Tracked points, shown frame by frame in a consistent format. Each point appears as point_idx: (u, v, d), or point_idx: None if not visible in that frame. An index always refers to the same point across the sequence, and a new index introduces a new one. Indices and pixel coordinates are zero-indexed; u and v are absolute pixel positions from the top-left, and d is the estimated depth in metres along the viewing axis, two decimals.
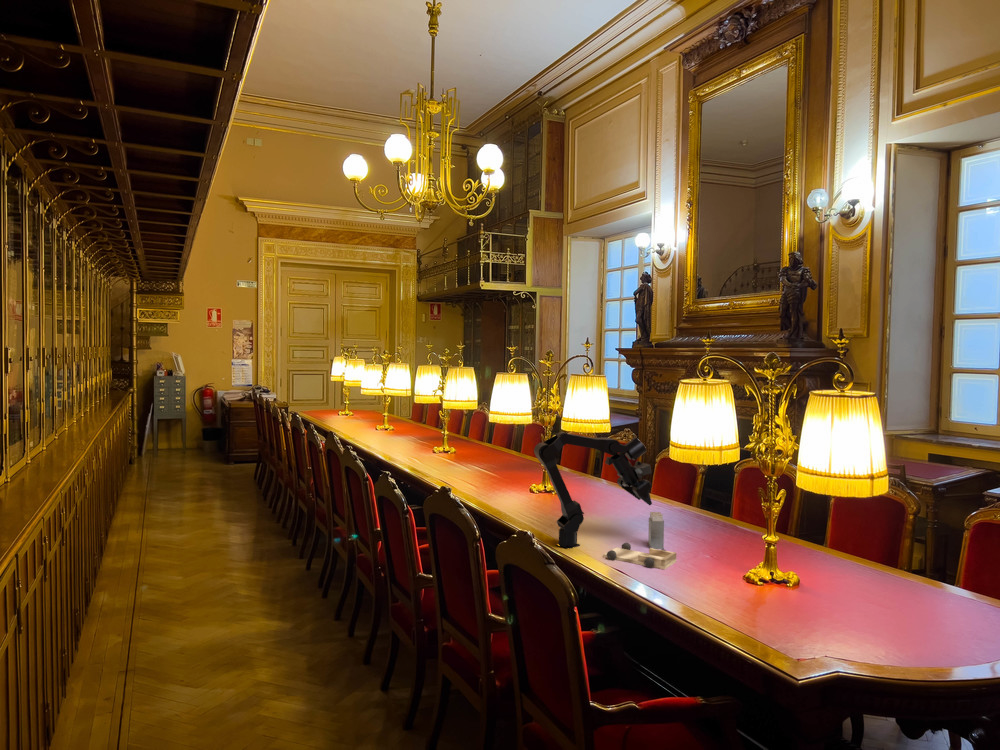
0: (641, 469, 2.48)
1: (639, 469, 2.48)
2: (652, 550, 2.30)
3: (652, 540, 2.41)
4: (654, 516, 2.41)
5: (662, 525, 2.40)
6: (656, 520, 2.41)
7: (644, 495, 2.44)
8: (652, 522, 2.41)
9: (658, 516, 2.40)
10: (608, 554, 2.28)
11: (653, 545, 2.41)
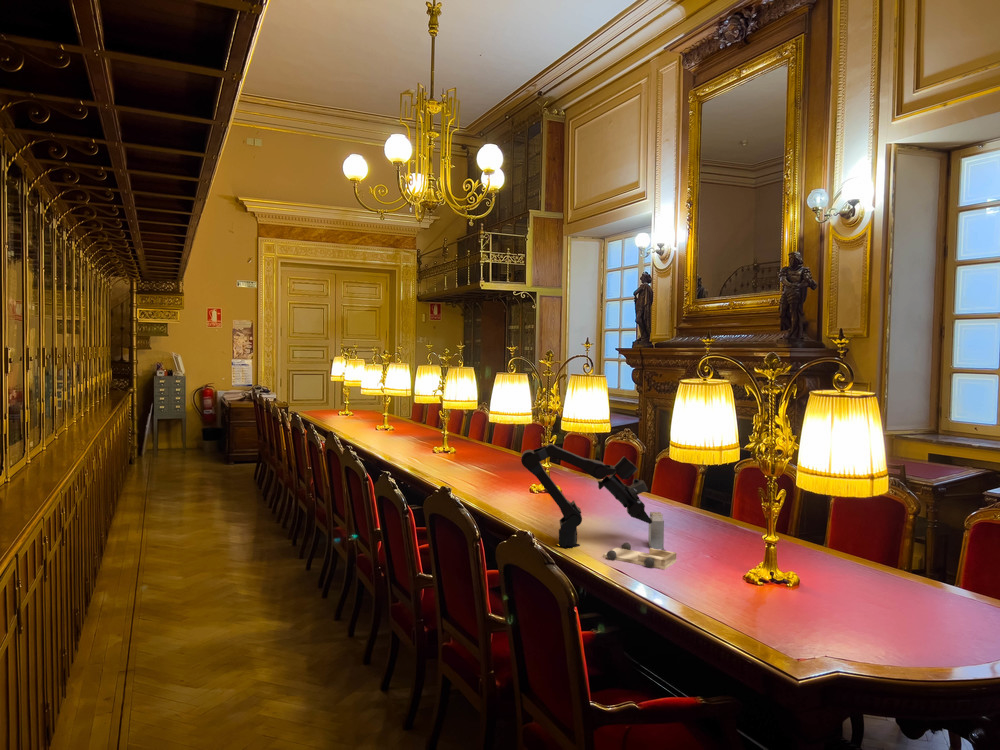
0: (635, 488, 2.41)
1: (633, 488, 2.41)
2: (652, 550, 2.30)
3: (652, 540, 2.41)
4: (654, 516, 2.40)
5: (662, 525, 2.40)
6: (656, 520, 2.41)
7: (640, 515, 2.37)
8: (652, 522, 2.41)
9: (658, 516, 2.40)
10: (608, 554, 2.28)
11: (653, 545, 2.41)
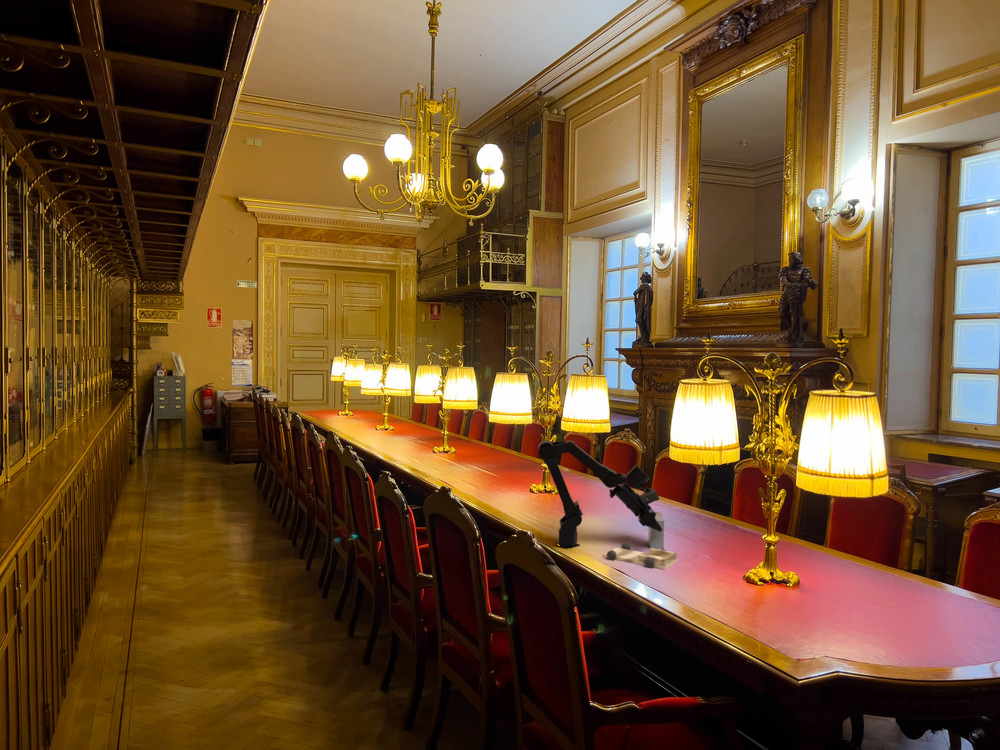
0: (646, 497, 2.41)
1: (644, 497, 2.41)
2: (652, 550, 2.30)
3: (652, 540, 2.41)
4: None
5: (662, 525, 2.40)
6: (656, 520, 2.41)
7: (651, 522, 2.39)
8: None
9: (658, 516, 2.40)
10: (608, 554, 2.28)
11: (653, 545, 2.41)
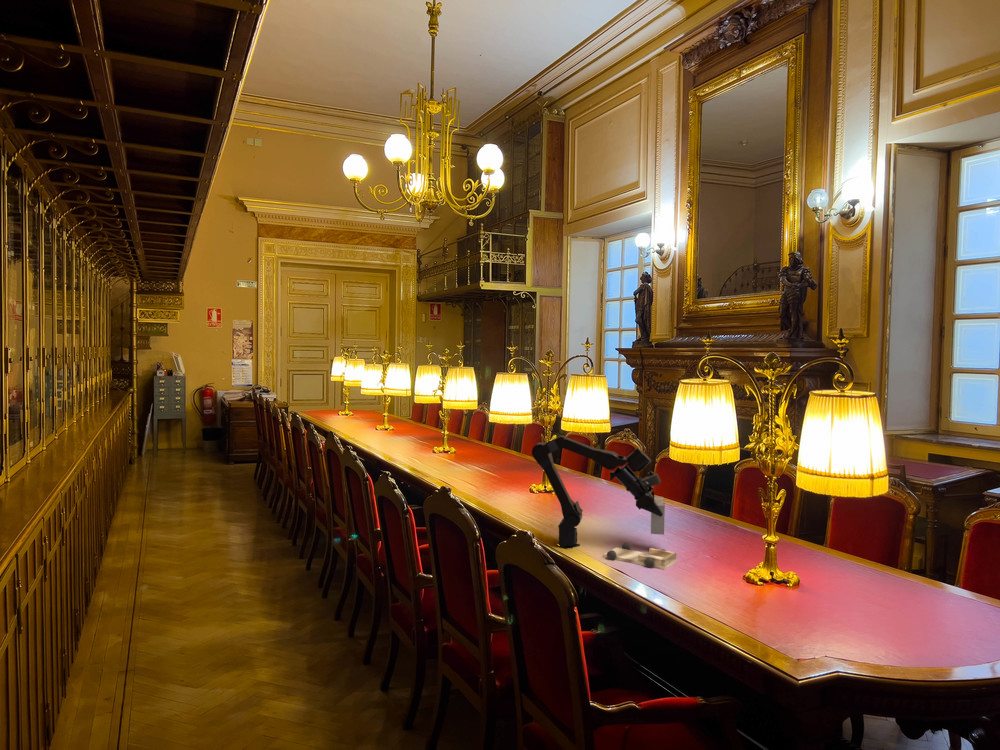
0: (646, 480, 2.35)
1: (644, 481, 2.35)
2: (652, 550, 2.30)
3: (652, 525, 2.35)
4: (654, 500, 2.35)
5: (663, 510, 2.34)
6: (656, 504, 2.35)
7: (650, 506, 2.34)
8: None
9: (658, 500, 2.34)
10: (608, 554, 2.28)
11: (653, 530, 2.35)
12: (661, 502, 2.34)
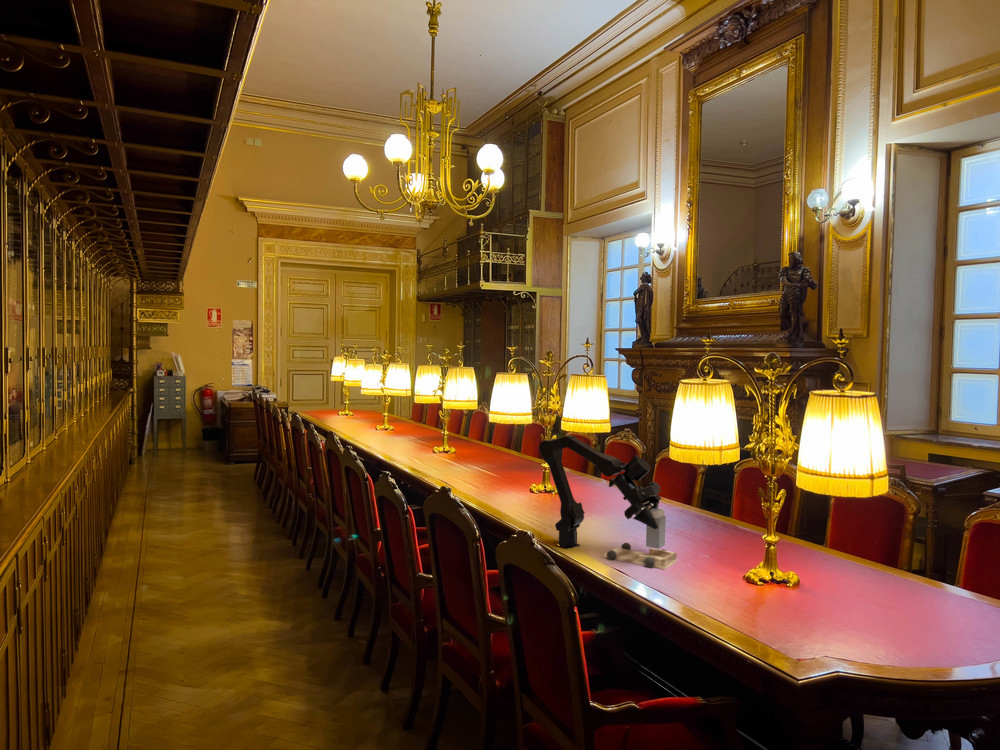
0: (642, 490, 2.25)
1: (640, 490, 2.25)
2: (652, 550, 2.30)
3: (647, 537, 2.24)
4: (650, 512, 2.23)
5: (658, 523, 2.22)
6: (652, 516, 2.23)
7: (644, 518, 2.23)
8: None
9: (654, 512, 2.23)
10: (608, 554, 2.28)
11: (649, 542, 2.24)
12: (656, 514, 2.22)
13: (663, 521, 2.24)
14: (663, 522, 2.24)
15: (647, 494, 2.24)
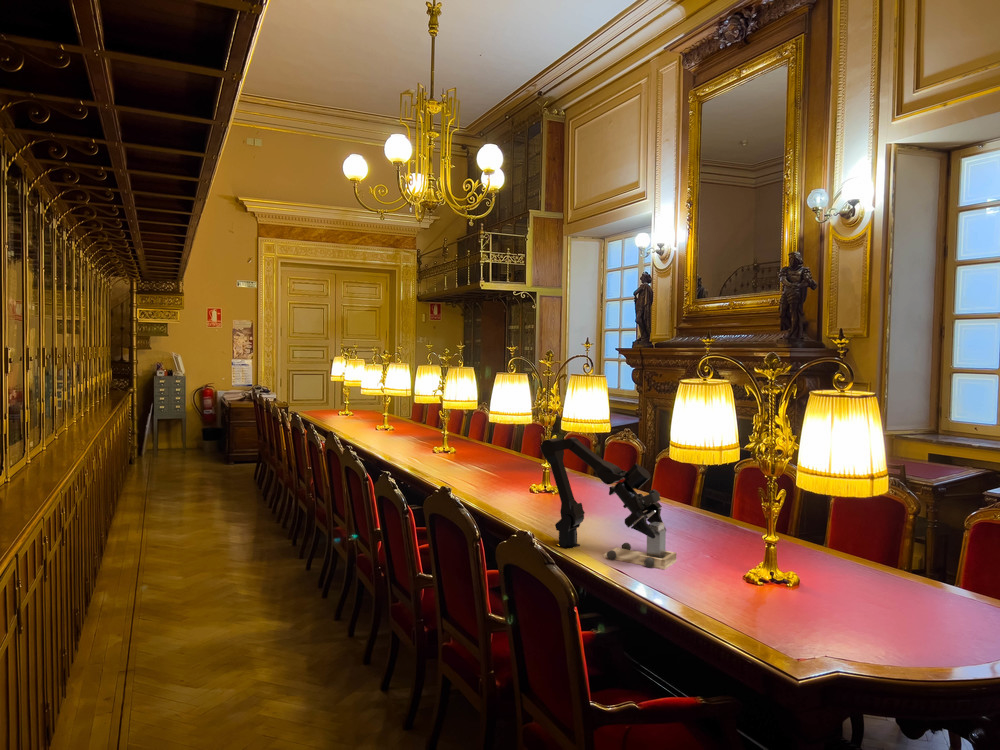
0: (642, 498, 2.25)
1: (640, 498, 2.25)
2: None
3: (648, 551, 2.24)
4: (650, 526, 2.23)
5: (658, 536, 2.22)
6: (652, 530, 2.23)
7: (642, 527, 2.22)
8: None
9: (654, 526, 2.23)
10: (608, 554, 2.28)
11: None
12: (656, 528, 2.22)
13: (663, 535, 2.25)
14: (663, 536, 2.24)
15: (647, 502, 2.24)
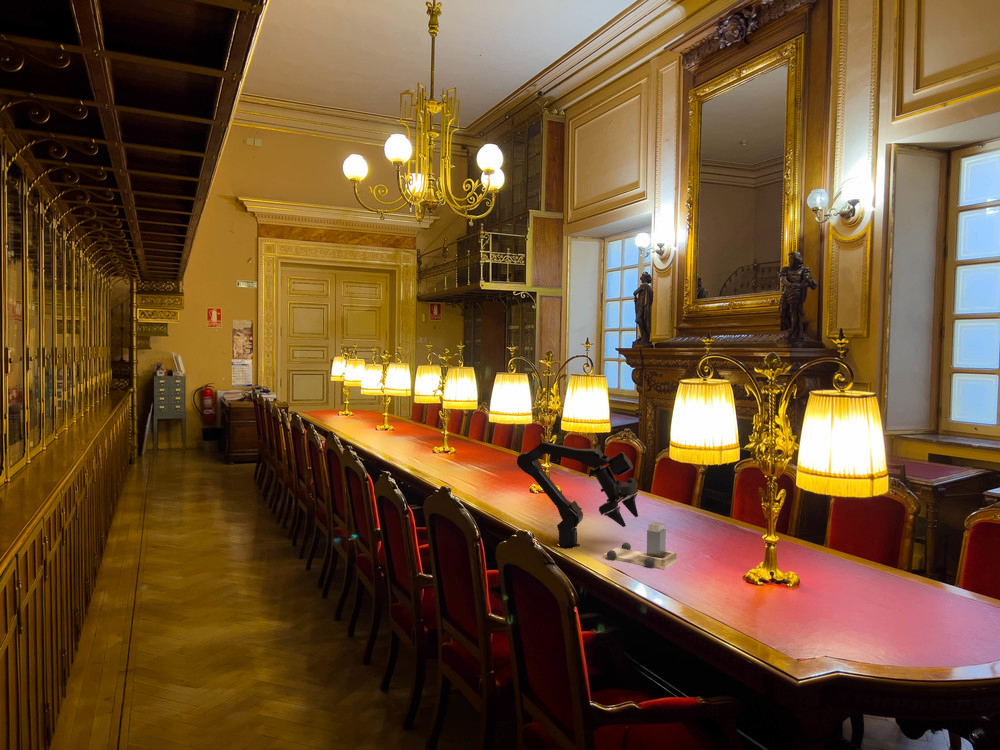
0: (619, 488, 2.33)
1: (618, 488, 2.34)
2: None
3: (648, 551, 2.24)
4: (650, 526, 2.23)
5: (658, 537, 2.22)
6: (652, 530, 2.23)
7: (614, 515, 2.33)
8: (648, 532, 2.24)
9: (654, 526, 2.23)
10: (608, 554, 2.28)
11: None
12: (656, 528, 2.22)
13: (664, 535, 2.24)
14: (663, 536, 2.24)
15: (623, 493, 2.33)
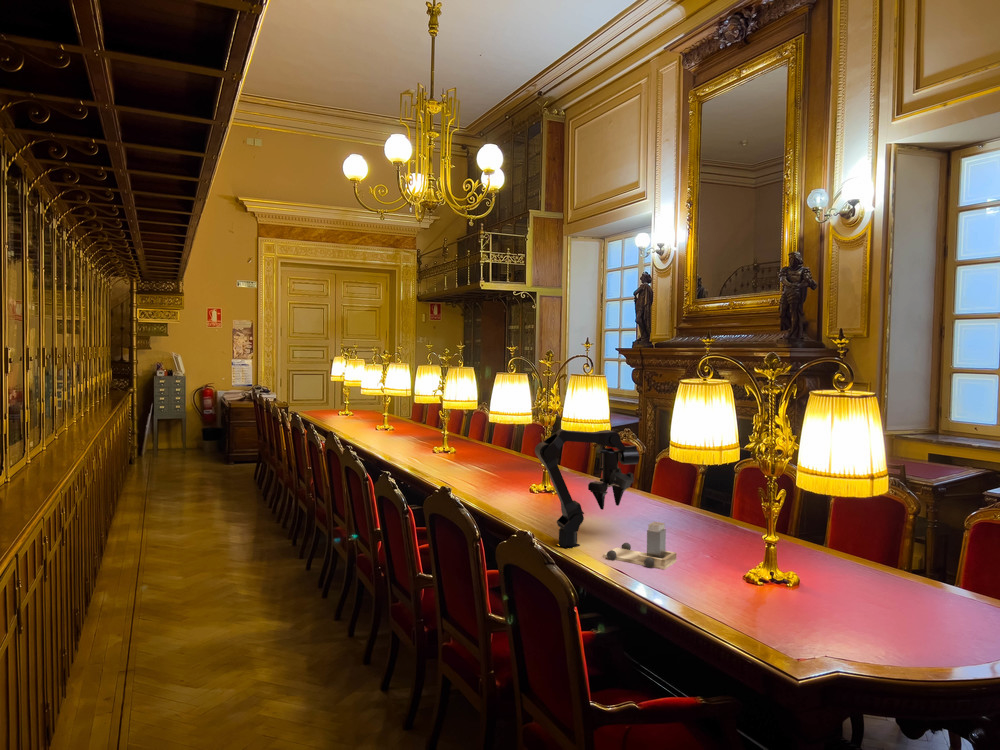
0: (616, 477, 2.43)
1: (615, 475, 2.43)
2: None
3: (648, 551, 2.24)
4: (650, 526, 2.23)
5: (658, 537, 2.22)
6: (652, 530, 2.23)
7: (598, 496, 2.44)
8: (648, 532, 2.24)
9: (654, 526, 2.23)
10: (608, 554, 2.28)
11: None
12: (656, 528, 2.22)
13: (664, 535, 2.24)
14: (663, 536, 2.24)
15: (617, 482, 2.42)
